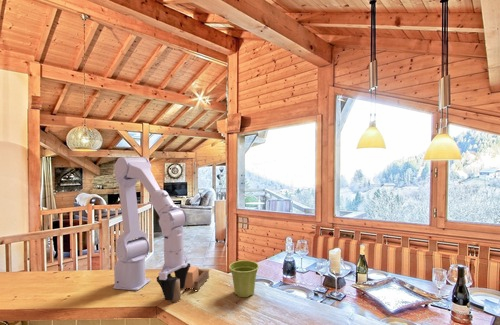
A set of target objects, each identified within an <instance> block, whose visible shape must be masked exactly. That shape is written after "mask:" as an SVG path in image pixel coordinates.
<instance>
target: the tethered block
mask: <svg viewBox="0 0 500 325" xmlns="http://www.w3.org/2000/svg"><path fill="white" fill-rule="evenodd" d="M198 269H199V266H191V265H190V268H189V270H188V273H187V276H186V281H185V286H184V288H183V289H182V288H180V279H179V278H177V279H176V282H175V286H174V296H173V300H172V301H170V302H171V303H178V302H179V300H180V301H181V295H182V294H183V293H184V292H185V289H186V288H194V281H195V280H196V279H197V278H198V277H199V273H198ZM194 289H195V288H194ZM186 290H187V289H186ZM177 301H178V302H177Z"/></svg>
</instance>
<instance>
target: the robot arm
mask: <svg viewBox="0 0 500 325" xmlns="http://www.w3.org/2000/svg"><path fill="white" fill-rule="evenodd" d="M114 174H115V182H116V183H118V191H119V193H118V194H119V202H120V209H121V217H122V219H121V220H122V227H123V228H122V229H123V232H122V234H120V235H119V236H118V237H117V239H116V248H115V255H116V258H117V259H118V260H117V261H116V262H115V265H114V268H113V270H114V271H113V272H114V276H113V277H114V278H113V279H114V286H113V287H112V289H114V290H116V289H117V290H124V291H125V290H127V291H140V289H142V288H143V287H145V285H147V284H148V283H149V282H151V281H152V279H151V278H146V258H147V256H148V255H147V254H149V252H150V250H151V244H150V241H149V238H148V234H147V232H146V231H144V230H142V229H141V224H140V218H139V217H140V216H139V207H138V200H137V191H136V184H137V183H138V182H140V183H141V184H142V186H143V187H144V188H145V190H146V191H147V192H148V193H149V195H150V198H149V202H150V203H151V205H152V207H153V209H154V210H155V212H156V213H157V215H158V217H159V219H158V224H159V227H160V229H161V235H162V236H163V254H164V256H163V260H164V263H163V266H162V269H161V270H160V271H159V273H158V276H157V277H156V283H158V284H159V286H160V288H161V291H162V294H163V297H164V299H165V301H170V302H171V301H172V300H173V296H174V286H175V282H176V279H177V278H179V279H180V289H181V290H182V289H183V288H184V286H185V281H186V276H187V273H188V270H189V268H190V266H191V264H190V262H188V255H185V254H184V251H185V250H184V226H185V225H186V223H187V221H188V217H187V214H186V211H185V209H183V208H182V207H179V205H176V204H175V203H174V201H173V199H172V198H171V196H170V195H169V193H168V192H167V190H163V189H161V187H160V186H159V184H158V182H157V180H156V178H155V176H154V174H153V173H152V164H151V162H150V160H149V158H148V157H146V156H138V157H137V156H136V157H133V156H132V157H131V156H130V157H129V156H128V157H124V156H120V157H118V158H117V160H116V161H115V164H114ZM172 273H174V276H173V275H172Z"/></svg>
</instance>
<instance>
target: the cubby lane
mask: <svg viewBox="0 0 500 325" xmlns="http://www.w3.org/2000/svg"><path fill="white" fill-rule="evenodd" d="M198 273H199V277H198V278H197V279H196V280H195V281H194V291H195V290H201V288H202V287H203V286H204V285H205V283H206V282H207V281H208V280H209V278H210V270H209V268H207V269H204V268H198ZM207 279H208V280H207ZM206 280H207V281H206ZM205 281H206V282H205ZM202 285H203V286H202ZM201 286H202V287H201ZM200 287H201V288H200Z"/></svg>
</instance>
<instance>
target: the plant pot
mask: <svg viewBox="0 0 500 325" xmlns="http://www.w3.org/2000/svg"><path fill="white" fill-rule="evenodd" d="M259 265H260V264H259V263H258V262H255V261H253V260H245V259H244V260H238V261H233V262H232V263H230V264H229V270H230V273H231V276H232V282H233V290H234V295H237V297H239V298H248V297H250V296H253V295H254V294H255V287H256V280H257V273H258V269H259V268H260V266H259Z"/></svg>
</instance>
